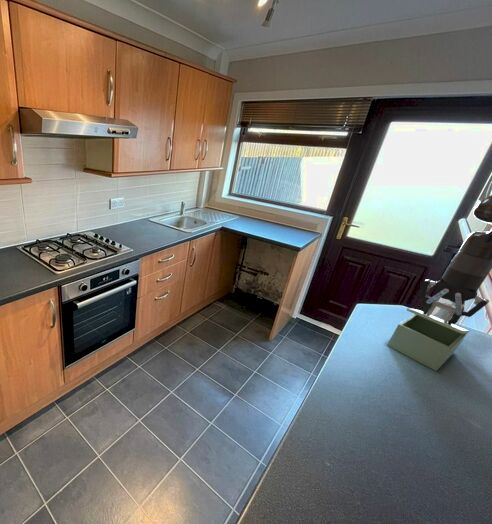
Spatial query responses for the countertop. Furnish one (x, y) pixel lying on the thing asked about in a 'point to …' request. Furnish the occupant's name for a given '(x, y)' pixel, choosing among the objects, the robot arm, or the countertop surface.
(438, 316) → the flask
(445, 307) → the lid
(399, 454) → the countertop surface
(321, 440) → the countertop surface
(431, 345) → the green hinged box
